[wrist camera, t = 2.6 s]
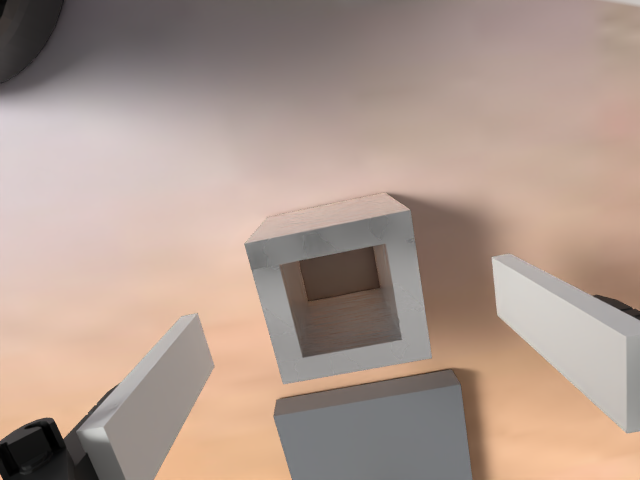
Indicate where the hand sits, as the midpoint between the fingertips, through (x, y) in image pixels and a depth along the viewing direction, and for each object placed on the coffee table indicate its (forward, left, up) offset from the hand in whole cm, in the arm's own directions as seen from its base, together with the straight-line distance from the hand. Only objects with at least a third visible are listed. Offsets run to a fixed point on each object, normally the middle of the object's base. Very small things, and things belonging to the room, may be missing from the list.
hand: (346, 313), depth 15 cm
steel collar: (0, 0, -6) cm, 6 cm away
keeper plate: (+16, 0, -6) cm, 17 cm away
